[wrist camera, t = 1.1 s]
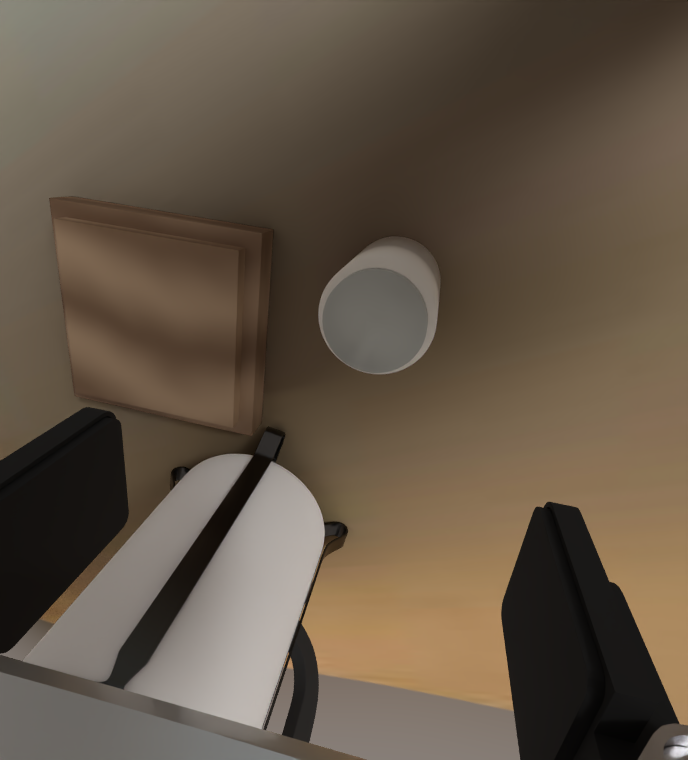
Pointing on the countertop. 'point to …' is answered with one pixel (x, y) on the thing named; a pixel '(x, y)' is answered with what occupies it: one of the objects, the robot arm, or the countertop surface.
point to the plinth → (165, 310)
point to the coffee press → (208, 595)
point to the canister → (382, 306)
